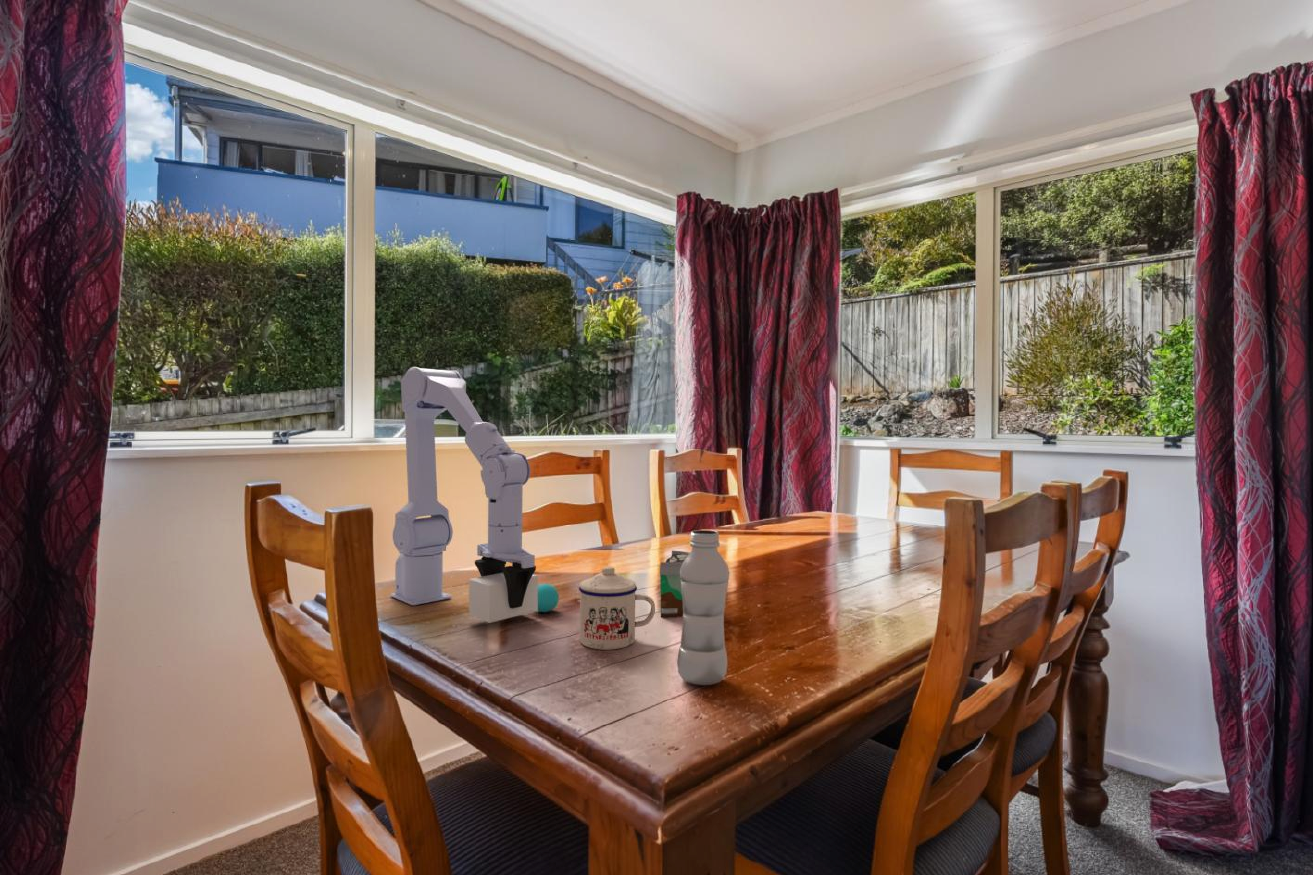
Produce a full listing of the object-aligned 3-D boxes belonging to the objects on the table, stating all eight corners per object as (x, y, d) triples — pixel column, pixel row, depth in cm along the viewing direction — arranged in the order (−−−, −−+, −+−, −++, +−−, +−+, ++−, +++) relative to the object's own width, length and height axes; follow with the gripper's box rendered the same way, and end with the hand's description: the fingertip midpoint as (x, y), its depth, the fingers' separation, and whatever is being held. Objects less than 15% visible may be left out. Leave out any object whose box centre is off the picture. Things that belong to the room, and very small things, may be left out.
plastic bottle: (674, 673, 91) (676, 528, 91) (722, 672, 92) (725, 528, 92) (679, 692, 85) (682, 536, 85) (732, 691, 86) (734, 536, 85)
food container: (693, 622, 115) (694, 564, 115) (659, 619, 116) (659, 562, 116) (703, 603, 127) (704, 551, 127) (671, 601, 128) (672, 549, 128)
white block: (469, 614, 113) (469, 579, 113) (517, 603, 120) (516, 569, 119) (489, 622, 108) (489, 585, 108) (537, 610, 115) (537, 575, 115)
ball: (541, 575, 122) (552, 596, 124) (521, 593, 119) (532, 614, 121) (557, 581, 119) (568, 602, 121) (536, 599, 116) (548, 620, 118)
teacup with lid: (576, 651, 100) (577, 574, 99) (580, 632, 109) (580, 561, 108) (656, 651, 100) (657, 574, 100) (653, 632, 109) (654, 561, 109)
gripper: (462, 521, 116) (461, 599, 116) (509, 531, 106) (508, 616, 106) (497, 517, 121) (496, 592, 121) (545, 527, 111) (544, 608, 111)
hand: (504, 603), depth 114 cm, fingers closed on white block, 6 cm apart
